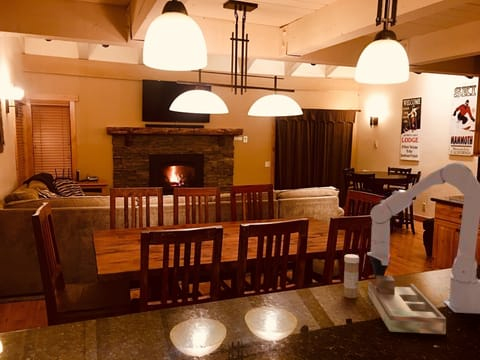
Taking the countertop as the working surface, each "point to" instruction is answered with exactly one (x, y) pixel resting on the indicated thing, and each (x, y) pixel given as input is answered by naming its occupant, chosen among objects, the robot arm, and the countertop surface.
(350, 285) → the sprinkles bottle
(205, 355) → the countertop surface
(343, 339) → the countertop surface
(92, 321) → the countertop surface
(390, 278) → the walnut block
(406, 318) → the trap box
